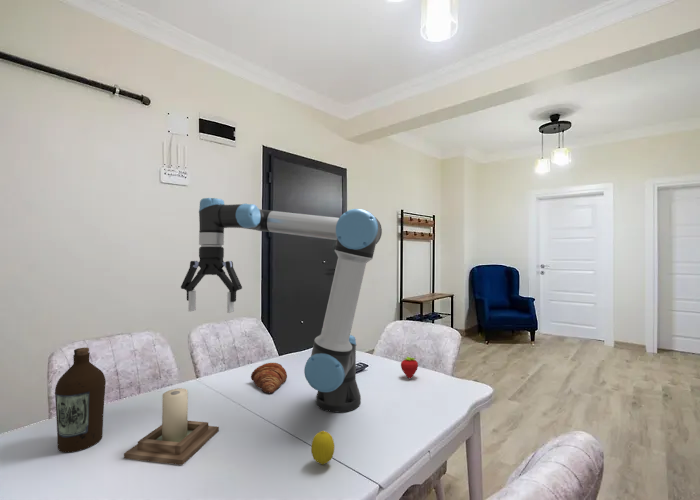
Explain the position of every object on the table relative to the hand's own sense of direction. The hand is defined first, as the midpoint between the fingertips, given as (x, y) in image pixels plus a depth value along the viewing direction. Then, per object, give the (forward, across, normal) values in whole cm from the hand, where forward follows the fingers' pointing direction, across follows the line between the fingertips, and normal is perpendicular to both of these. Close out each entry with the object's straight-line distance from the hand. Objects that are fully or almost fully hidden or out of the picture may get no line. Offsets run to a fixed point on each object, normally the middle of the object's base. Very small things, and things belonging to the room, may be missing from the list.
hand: (211, 311), depth 111 cm
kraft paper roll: (+30, -2, +20) cm, 36 cm away
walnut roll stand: (+32, -2, +20) cm, 38 cm away
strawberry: (+32, -64, -39) cm, 81 cm away
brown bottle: (+32, +23, +24) cm, 46 cm away
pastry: (+32, -10, -24) cm, 42 cm away
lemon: (+32, -43, +22) cm, 58 cm away
